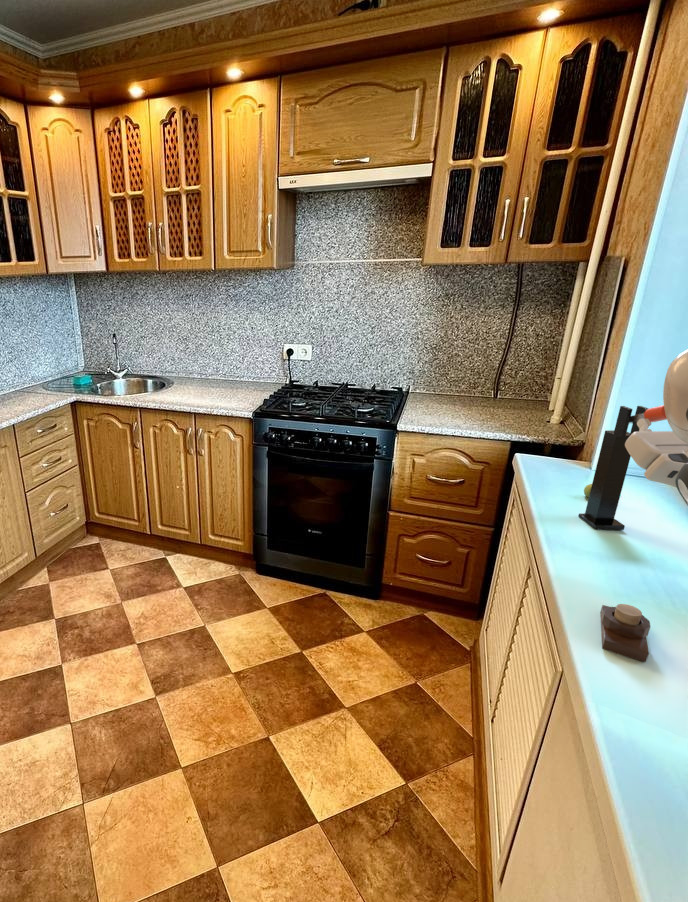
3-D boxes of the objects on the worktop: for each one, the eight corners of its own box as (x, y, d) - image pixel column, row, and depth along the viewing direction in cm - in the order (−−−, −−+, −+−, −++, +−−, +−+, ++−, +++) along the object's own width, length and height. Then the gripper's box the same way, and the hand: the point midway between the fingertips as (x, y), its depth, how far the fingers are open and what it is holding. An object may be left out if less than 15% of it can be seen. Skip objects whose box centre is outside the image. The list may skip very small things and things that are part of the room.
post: (623, 529, 131) (657, 409, 120) (594, 529, 132) (625, 409, 121) (605, 517, 138) (635, 402, 127) (577, 517, 138) (605, 402, 128)
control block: (598, 613, 101) (603, 595, 99) (641, 624, 97) (646, 606, 96) (600, 649, 91) (605, 630, 90) (647, 662, 88) (653, 643, 86)
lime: (578, 496, 150) (584, 480, 148) (594, 495, 151) (599, 480, 149) (590, 503, 146) (596, 487, 144) (606, 503, 147) (612, 486, 145)
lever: (677, 418, 112) (676, 403, 113) (662, 418, 113) (661, 404, 113) (634, 427, 125) (633, 414, 125) (620, 427, 125) (619, 414, 125)
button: (613, 611, 95) (615, 601, 95) (638, 617, 93) (641, 607, 93) (614, 621, 93) (616, 611, 92) (640, 628, 91) (643, 618, 90)
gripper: (767, 459, 102) (725, 409, 111) (657, 459, 103) (624, 410, 112) (744, 479, 107) (705, 430, 116) (638, 479, 108) (608, 430, 117)
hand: (664, 420), depth 114 cm, fingers open, 8 cm apart
